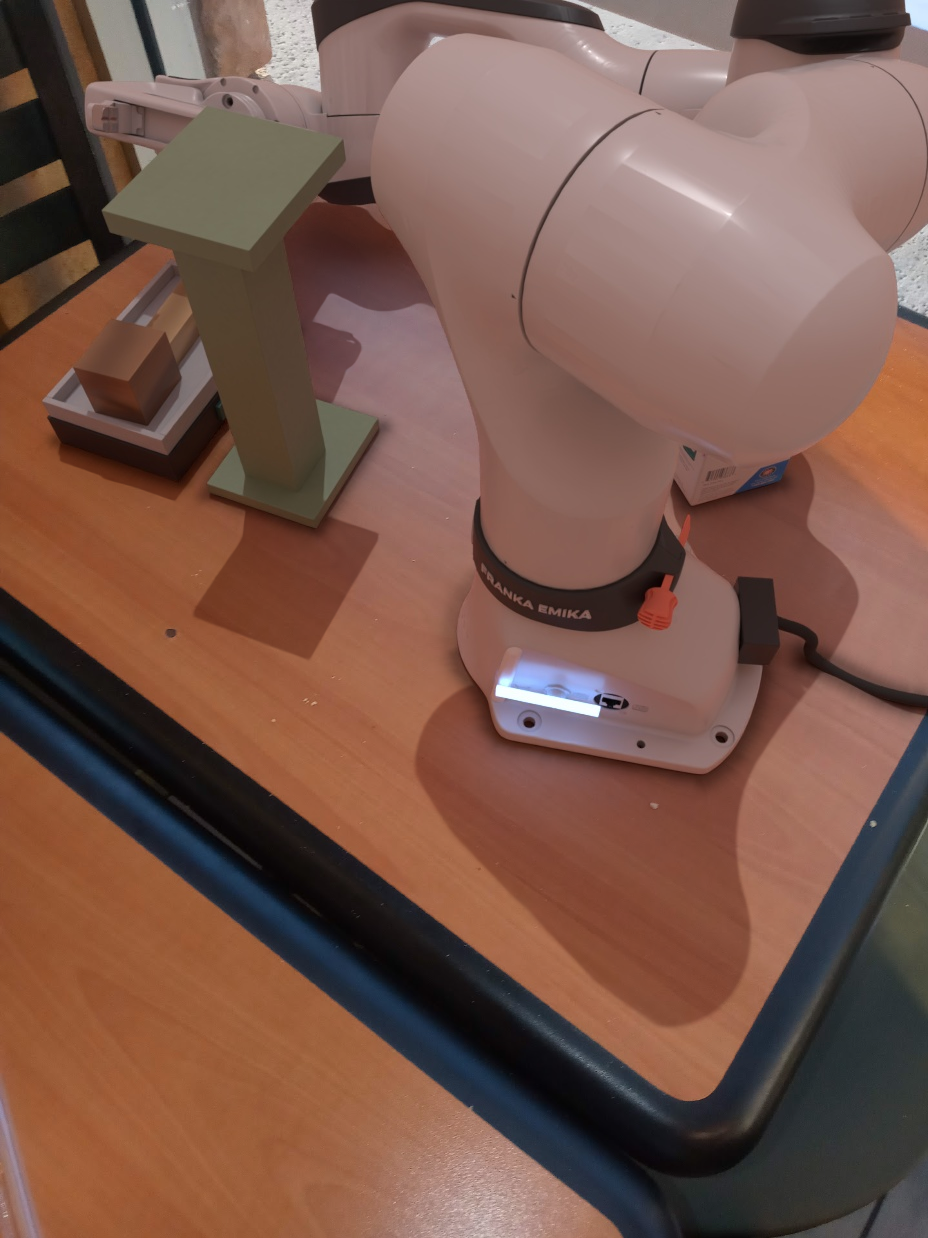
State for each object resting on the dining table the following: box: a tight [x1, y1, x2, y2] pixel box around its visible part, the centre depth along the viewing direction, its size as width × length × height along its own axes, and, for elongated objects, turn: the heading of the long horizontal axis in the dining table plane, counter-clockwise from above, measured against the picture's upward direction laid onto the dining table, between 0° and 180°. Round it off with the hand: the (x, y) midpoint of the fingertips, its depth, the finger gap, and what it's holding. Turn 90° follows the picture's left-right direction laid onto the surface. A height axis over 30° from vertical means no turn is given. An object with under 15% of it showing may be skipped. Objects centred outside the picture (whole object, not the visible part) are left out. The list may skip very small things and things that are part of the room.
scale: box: [41, 259, 227, 483], centre depth 80 cm, size 12×20×5 cm, turn 157°
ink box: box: [673, 444, 791, 506], centre depth 70 cm, size 8×5×15 cm, turn 108°
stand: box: [101, 106, 380, 530], centre depth 67 cm, size 10×12×26 cm
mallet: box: [72, 280, 200, 426], centre depth 77 cm, size 5×17×5 cm, turn 161°
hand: (147, 130), depth 68 cm, fingers open, 8 cm apart
